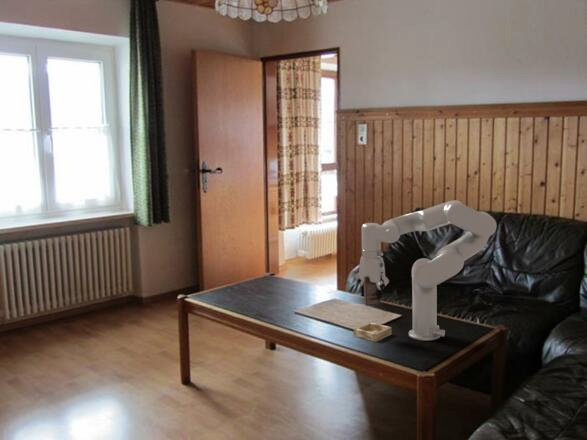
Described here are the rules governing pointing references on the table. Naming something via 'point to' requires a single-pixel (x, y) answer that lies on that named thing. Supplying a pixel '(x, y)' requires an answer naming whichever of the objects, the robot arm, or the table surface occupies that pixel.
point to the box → (370, 292)
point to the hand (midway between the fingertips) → (371, 296)
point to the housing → (372, 331)
